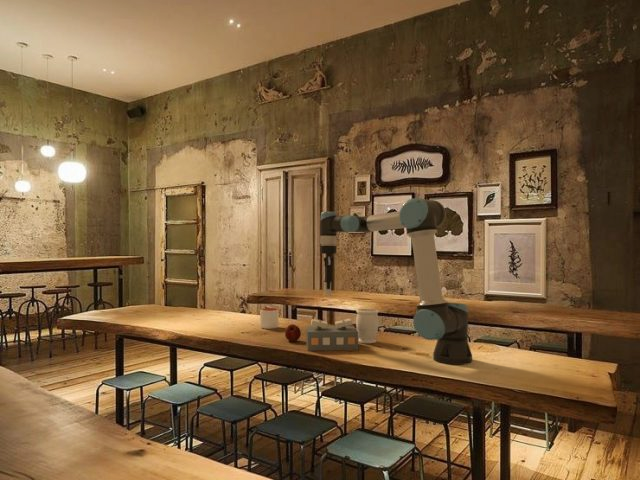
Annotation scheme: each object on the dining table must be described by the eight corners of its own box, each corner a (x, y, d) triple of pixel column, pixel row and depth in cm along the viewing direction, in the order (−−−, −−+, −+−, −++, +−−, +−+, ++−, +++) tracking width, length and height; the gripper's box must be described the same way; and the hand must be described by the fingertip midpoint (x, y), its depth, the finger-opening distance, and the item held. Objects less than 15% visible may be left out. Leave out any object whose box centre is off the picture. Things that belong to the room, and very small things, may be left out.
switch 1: (326, 328, 210) (328, 322, 210) (311, 325, 209) (312, 319, 209) (325, 326, 215) (326, 321, 215) (310, 323, 214) (311, 317, 214)
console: (358, 350, 206) (358, 329, 206) (307, 350, 204) (307, 329, 204) (353, 343, 220) (353, 323, 220) (306, 343, 219) (306, 323, 219)
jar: (382, 341, 223) (383, 310, 223) (369, 345, 216) (369, 312, 216) (365, 338, 230) (365, 307, 230) (351, 341, 223) (351, 310, 223)
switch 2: (352, 324, 211) (351, 319, 211) (337, 328, 210) (336, 322, 210) (350, 322, 216) (349, 317, 216) (335, 326, 215) (334, 320, 215)
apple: (282, 342, 222) (282, 325, 222) (289, 339, 229) (289, 322, 229) (296, 343, 219) (296, 326, 219) (303, 340, 226) (303, 323, 226)
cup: (282, 327, 261) (282, 309, 261) (270, 330, 252) (270, 311, 252) (267, 325, 266) (268, 307, 266) (256, 328, 257) (256, 309, 257)
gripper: (337, 245, 213) (337, 297, 213) (335, 245, 226) (334, 294, 226) (321, 245, 212) (320, 297, 212) (319, 244, 225) (319, 294, 225)
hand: (328, 295), depth 219 cm, fingers closed
